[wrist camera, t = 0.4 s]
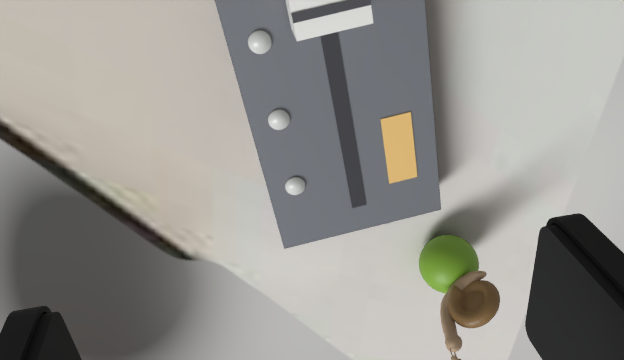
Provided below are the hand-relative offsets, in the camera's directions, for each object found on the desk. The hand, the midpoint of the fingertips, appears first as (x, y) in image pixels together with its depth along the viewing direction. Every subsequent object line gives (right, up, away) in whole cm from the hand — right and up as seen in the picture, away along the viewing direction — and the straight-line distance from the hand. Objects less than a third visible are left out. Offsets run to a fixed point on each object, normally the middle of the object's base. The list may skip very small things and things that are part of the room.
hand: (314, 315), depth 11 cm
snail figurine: (+12, -4, +43) cm, 45 cm away
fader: (+1, +15, +26) cm, 30 cm away
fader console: (+2, +10, +33) cm, 34 cm away
